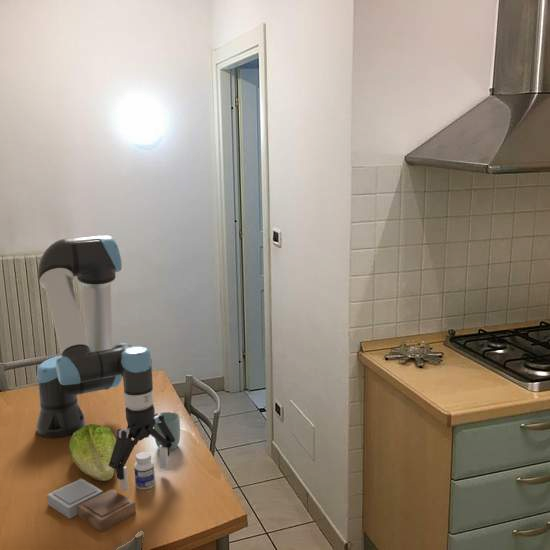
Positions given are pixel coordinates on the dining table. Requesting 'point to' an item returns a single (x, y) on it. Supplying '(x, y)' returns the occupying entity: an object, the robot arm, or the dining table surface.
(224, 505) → the dining table surface
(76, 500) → the stand
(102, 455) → the lettuce
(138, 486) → the pill bottle
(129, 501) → the stand
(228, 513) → the dining table surface
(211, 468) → the dining table surface
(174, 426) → the cup
